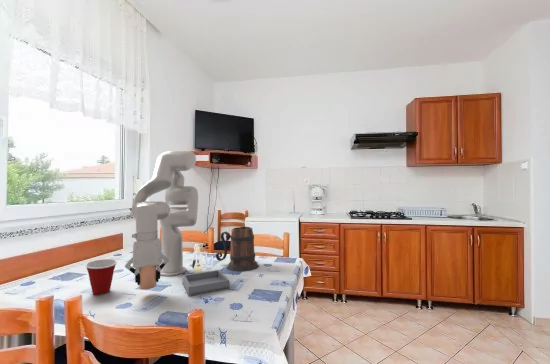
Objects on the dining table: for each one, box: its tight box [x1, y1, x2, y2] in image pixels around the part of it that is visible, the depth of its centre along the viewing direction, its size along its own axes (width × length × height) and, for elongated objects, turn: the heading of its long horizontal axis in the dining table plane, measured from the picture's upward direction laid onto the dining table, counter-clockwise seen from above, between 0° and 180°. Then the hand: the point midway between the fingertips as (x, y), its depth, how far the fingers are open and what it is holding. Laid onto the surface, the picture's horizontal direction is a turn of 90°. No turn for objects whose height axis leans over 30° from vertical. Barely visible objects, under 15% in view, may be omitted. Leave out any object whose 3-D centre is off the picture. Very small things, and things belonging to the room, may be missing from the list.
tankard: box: [215, 226, 260, 273], centre depth 143 cm, size 24×17×20 cm
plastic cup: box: [84, 258, 118, 296], centre depth 109 cm, size 11×11×12 cm
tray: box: [181, 269, 230, 297], centre depth 115 cm, size 16×16×4 cm
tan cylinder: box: [138, 265, 158, 290], centre depth 106 cm, size 6×6×9 cm
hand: (148, 282), depth 106 cm, fingers closed on tan cylinder, 6 cm apart
